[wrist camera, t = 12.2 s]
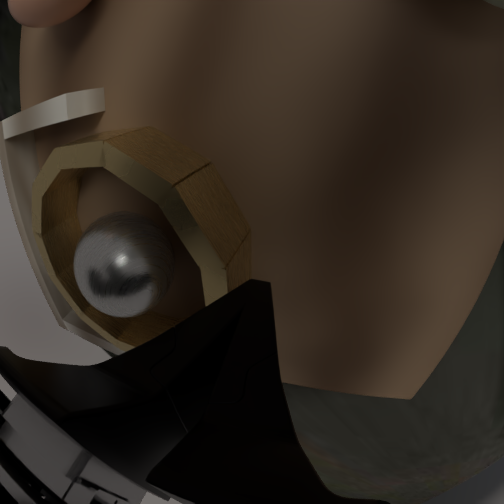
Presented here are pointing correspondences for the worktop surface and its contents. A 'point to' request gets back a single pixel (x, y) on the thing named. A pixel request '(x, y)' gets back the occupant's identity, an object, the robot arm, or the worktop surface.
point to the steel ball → (124, 264)
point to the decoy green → (496, 3)
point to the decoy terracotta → (45, 11)
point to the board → (296, 160)
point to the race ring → (158, 190)
